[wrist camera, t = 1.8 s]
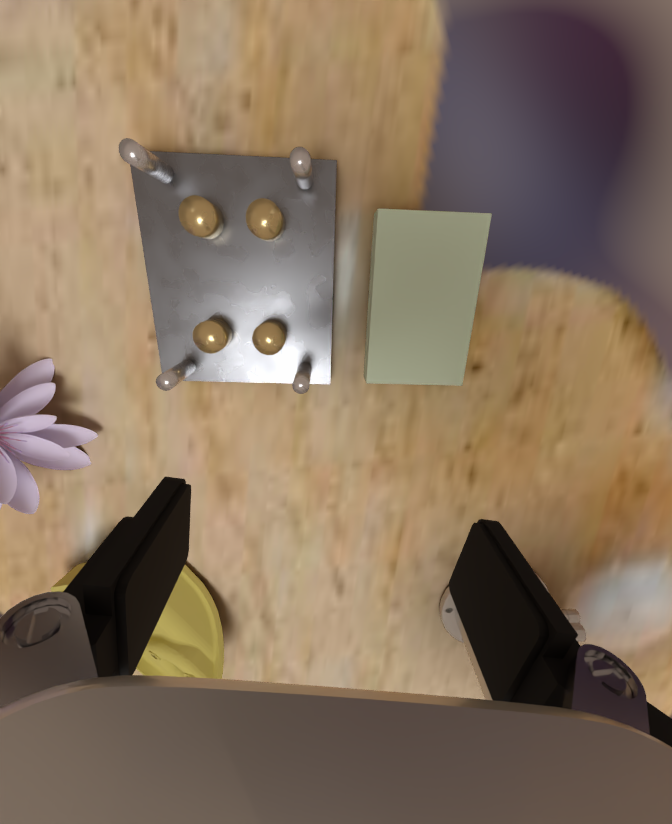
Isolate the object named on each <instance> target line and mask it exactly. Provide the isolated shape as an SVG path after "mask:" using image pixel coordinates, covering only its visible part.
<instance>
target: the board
mask: <svg viewBox="0 0 672 824" xmlns="http://www.w3.org/2000/svg"><path fill="white" fill-rule="evenodd" d="M491 215H492V214H491V213H470V212H469V213H468V212H446V211H423V210H400V209H377V211H376V212H375V213H374V221H373V236H372V252H371V268H370V283H369V299H368V314H367V330H366V346H365V361H364V378H365V381H366V383H375V384H416V385H457V386H462V384H463V378H464V373H465V367H466V361H467V355H468V349H469V343H470V338H471V332H472V326H473V320H474V314H475V309H476V303H477V297H478V291H479V285H480V280H481V274H482V268H483V262H484V256H485V250H486V245H487V239H488V233H489V227H490V221H491Z"/></svg>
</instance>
